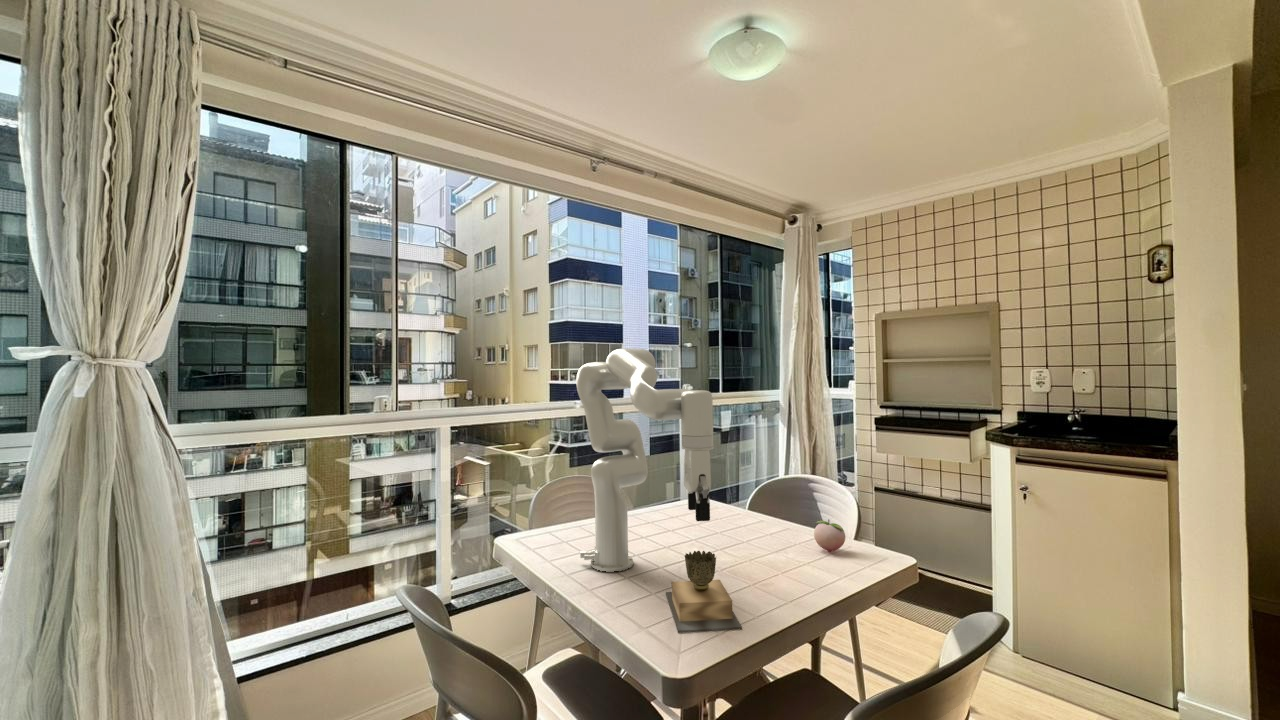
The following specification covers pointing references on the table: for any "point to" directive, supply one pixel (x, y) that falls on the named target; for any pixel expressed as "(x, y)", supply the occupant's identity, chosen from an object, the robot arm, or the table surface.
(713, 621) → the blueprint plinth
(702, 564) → the cup
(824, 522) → the decorative fruit
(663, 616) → the table surface
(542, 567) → the table surface
